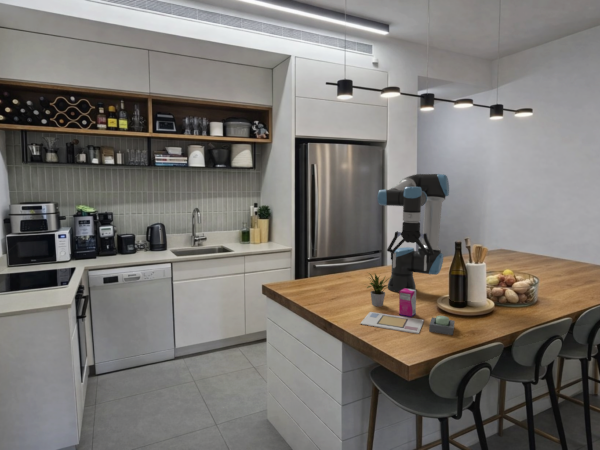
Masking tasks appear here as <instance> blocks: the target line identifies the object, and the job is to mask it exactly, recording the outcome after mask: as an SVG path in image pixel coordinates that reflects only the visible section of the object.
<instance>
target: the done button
mask: <svg viewBox="0 0 600 450" xmlns="http://www.w3.org/2000/svg"><path fill="white" fill-rule="evenodd" d="M435 318H436V324H439V325H445V326H449V320H450V318H449V317H448V316H446V315H445V316H444V315H437V316H435Z"/></svg>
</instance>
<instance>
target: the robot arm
mask: <svg viewBox="0 0 600 450" xmlns="http://www.w3.org/2000/svg"><path fill="white" fill-rule="evenodd" d="M449 196H450V185H449V178H448V175H446V174H441V173H425V174H424V173H416V174H412V175H409V176H406V177H404V178H402V179H401V180H400V181H399V183H398V184H396V185H394V186H392V187H391V188H389V189H379V190H378V193H377V203H378V204H379V205H380V206H385V207H386V206H387V207H388V206H390V207H392V206H393V207H402V221H403V222H402V228H401V229H402V230H401V232H400V231H395V232H394V236H393V239H392V240H391V242H390V244H389V245H388V247H387V249H386V251H387V252H388V253H390V260H391V275H390V277H392V278H390V277H389V279H388V283H387V287H390V288H387V289H388V290H389V291H392V292H396V293H400V291H401V290H402V289H404V288H407V289H412V290H416V289H417V287H416V282H415V279H414V273H417V274H425V275H435V276H436V275H439V274H440V272H441V270H442V267H443V263H444V253H441V249H440V247H439V241H440V232H441V231H440V230H441V220H442V219H441V218H442V206H443V202H444V201H445V200H446V197H449ZM422 206H424V212H423V213H424V214H423V225H422V233H421V223H420V221H421V218H422V217H421V216H422V215H421V214H422V213H421V212H422V211H421V209H422ZM400 236H401V237H402V239H401V240H400V241H399V242H398V243H397V244H396V241H397V240H398V238H399V237H400ZM420 238H421V240H420ZM404 243H411V244H414V243H416V244H417V245H418V248H417V249H418V250H415V248H414V247H409V246H407V247H405V246H404V247H401V246H402V245H403V244H404ZM395 244H396V245H395ZM394 245H395V246H394ZM393 246H394V247H393ZM416 291H417V290H416Z"/></svg>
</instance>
